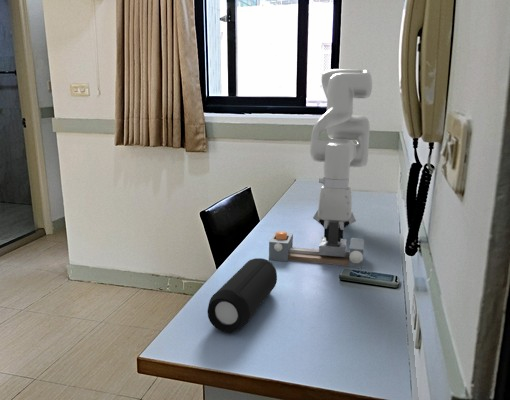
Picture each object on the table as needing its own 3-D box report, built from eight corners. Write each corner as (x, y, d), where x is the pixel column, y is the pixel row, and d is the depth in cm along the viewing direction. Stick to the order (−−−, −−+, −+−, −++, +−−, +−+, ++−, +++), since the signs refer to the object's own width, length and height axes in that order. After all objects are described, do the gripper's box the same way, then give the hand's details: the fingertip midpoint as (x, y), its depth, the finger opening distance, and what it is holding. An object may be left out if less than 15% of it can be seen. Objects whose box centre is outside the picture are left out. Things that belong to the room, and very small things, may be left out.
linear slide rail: (274, 248, 157) (275, 232, 156) (362, 256, 151) (363, 239, 149) (268, 259, 147) (268, 242, 146) (362, 268, 141) (363, 250, 139)
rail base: (274, 249, 156) (274, 242, 155) (362, 257, 150) (363, 250, 149) (269, 258, 149) (269, 251, 148) (362, 267, 142) (362, 259, 141)
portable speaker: (245, 286, 128) (245, 252, 126) (279, 292, 125) (280, 257, 123) (204, 332, 105) (203, 291, 103) (244, 340, 102) (244, 298, 99)
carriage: (321, 245, 152) (322, 216, 149) (346, 248, 150) (347, 218, 148) (318, 254, 144) (320, 223, 142) (344, 256, 143) (346, 225, 140)
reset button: (276, 242, 153) (276, 230, 152) (287, 243, 152) (287, 231, 151) (274, 246, 149) (274, 234, 148) (285, 247, 149) (286, 235, 148)
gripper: (307, 184, 140) (305, 241, 145) (363, 187, 136) (359, 246, 141) (310, 179, 147) (308, 234, 152) (363, 182, 143) (360, 238, 148)
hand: (333, 239), depth 146 cm, fingers closed on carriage, 3 cm apart
